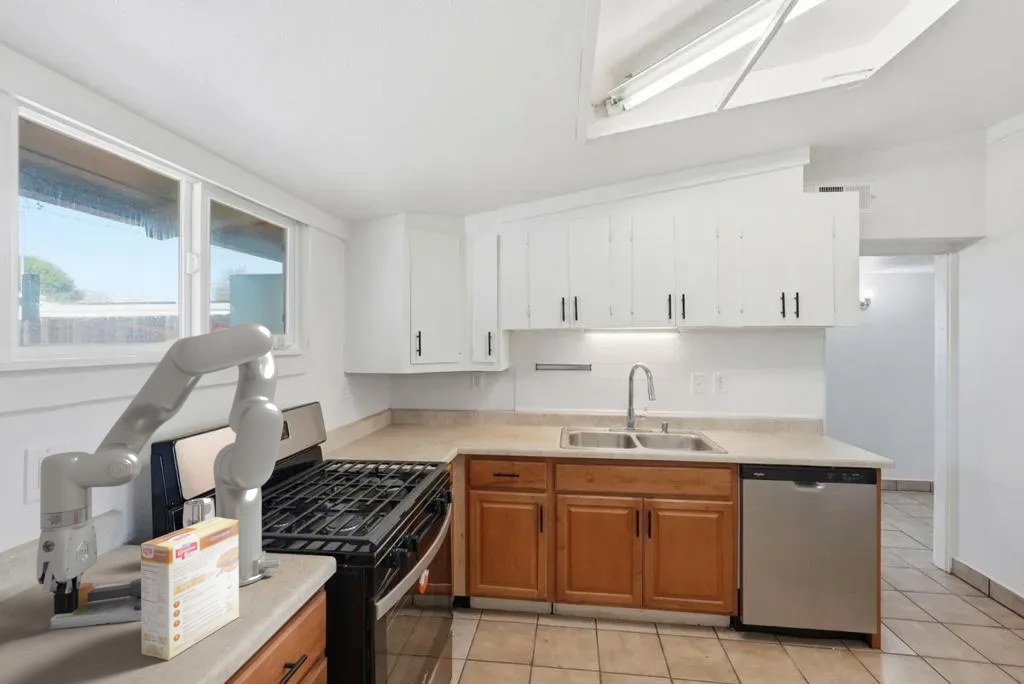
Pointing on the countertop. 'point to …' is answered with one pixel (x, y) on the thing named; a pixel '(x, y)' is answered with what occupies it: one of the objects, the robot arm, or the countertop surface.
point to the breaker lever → (108, 591)
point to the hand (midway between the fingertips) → (66, 611)
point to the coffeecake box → (188, 586)
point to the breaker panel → (100, 612)
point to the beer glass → (198, 511)
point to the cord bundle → (137, 606)
